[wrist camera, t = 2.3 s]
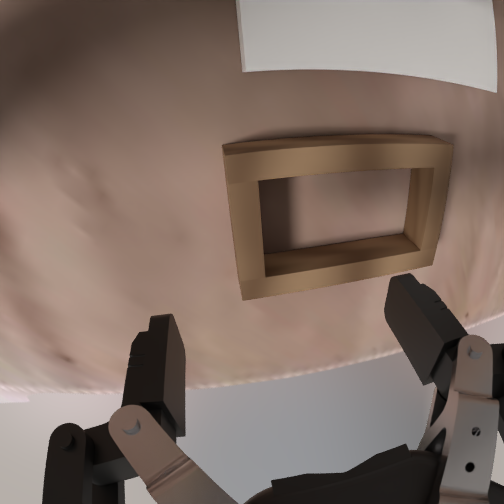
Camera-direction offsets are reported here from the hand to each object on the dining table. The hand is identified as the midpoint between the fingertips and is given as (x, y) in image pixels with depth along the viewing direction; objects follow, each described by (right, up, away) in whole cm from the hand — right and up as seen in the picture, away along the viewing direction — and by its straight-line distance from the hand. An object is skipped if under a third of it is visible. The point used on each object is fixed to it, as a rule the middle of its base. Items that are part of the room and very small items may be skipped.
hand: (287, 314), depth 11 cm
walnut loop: (+4, +5, +9) cm, 11 cm away
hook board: (+7, +19, +1) cm, 20 cm away
